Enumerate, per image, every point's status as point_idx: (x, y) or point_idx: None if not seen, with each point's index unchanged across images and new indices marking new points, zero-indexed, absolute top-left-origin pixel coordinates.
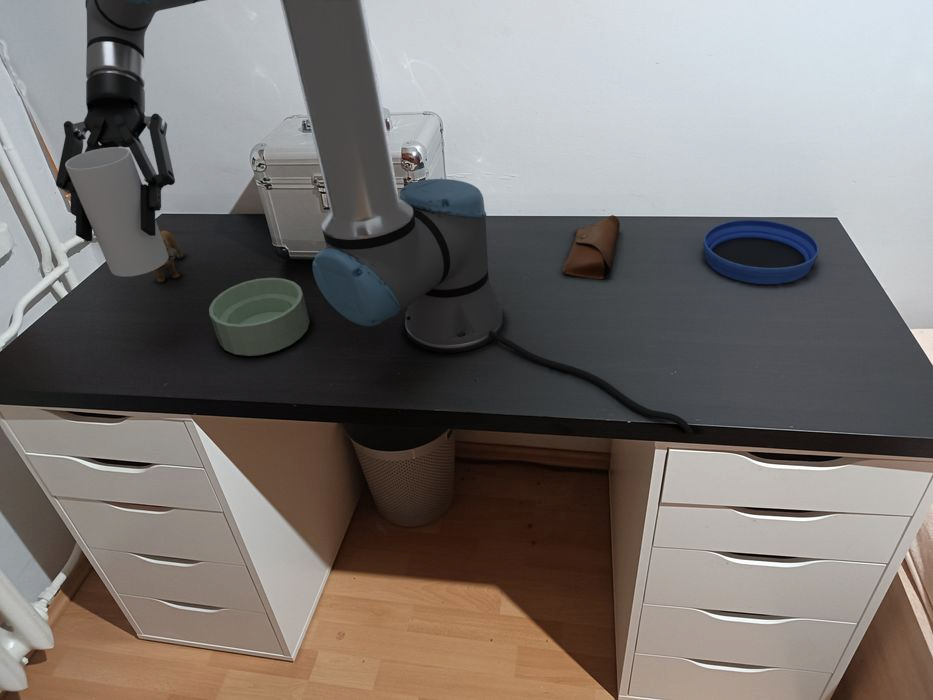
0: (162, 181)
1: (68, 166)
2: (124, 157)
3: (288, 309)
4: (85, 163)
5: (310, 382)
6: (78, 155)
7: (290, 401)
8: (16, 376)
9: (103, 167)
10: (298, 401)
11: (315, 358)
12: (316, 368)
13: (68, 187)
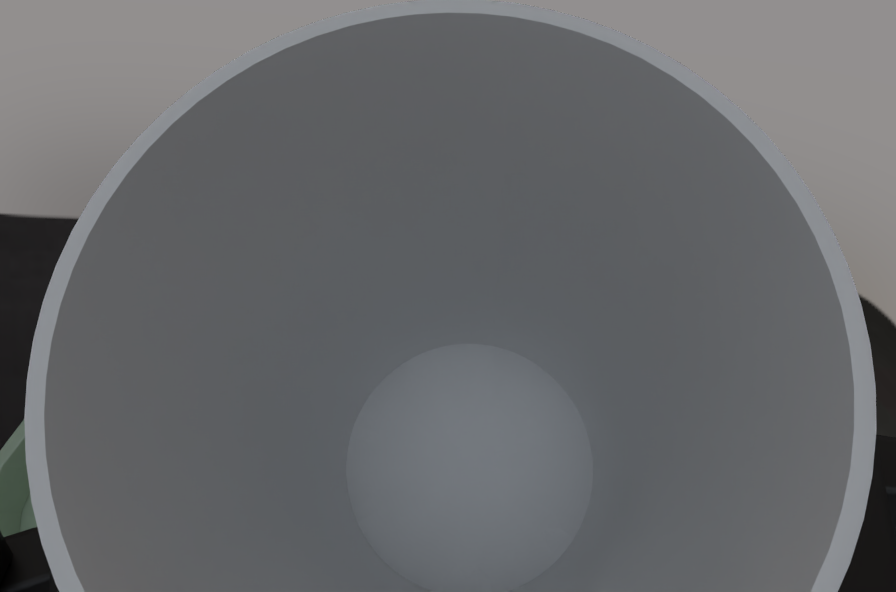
0: (22, 536)
1: (763, 199)
2: (49, 300)
3: (8, 457)
4: (763, 547)
5: (34, 284)
6: (840, 500)
7: (76, 218)
8: (871, 328)
9: (240, 73)
10: (58, 218)
11: (25, 383)
12: (21, 339)
13: (887, 450)
